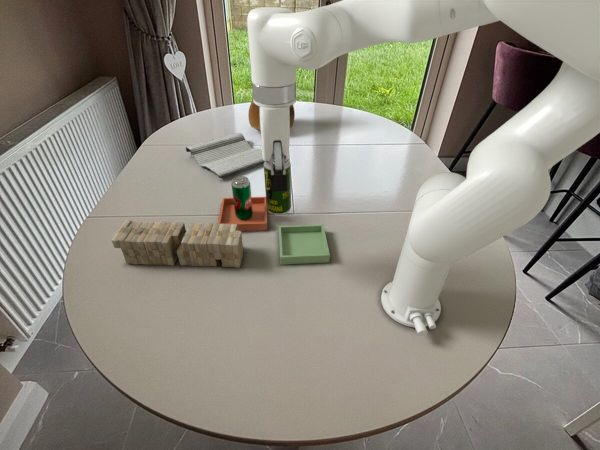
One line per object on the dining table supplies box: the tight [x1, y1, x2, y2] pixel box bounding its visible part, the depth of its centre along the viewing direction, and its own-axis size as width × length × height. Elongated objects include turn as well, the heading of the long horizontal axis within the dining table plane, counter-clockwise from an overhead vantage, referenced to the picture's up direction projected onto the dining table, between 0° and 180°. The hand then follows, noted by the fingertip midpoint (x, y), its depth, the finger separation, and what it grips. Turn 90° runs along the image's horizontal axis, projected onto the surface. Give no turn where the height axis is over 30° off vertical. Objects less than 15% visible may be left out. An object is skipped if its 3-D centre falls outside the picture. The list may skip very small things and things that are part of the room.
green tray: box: [278, 224, 331, 265], centre depth 87 cm, size 12×12×2 cm
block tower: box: [110, 219, 244, 269], centre depth 82 cm, size 8×8×29 cm
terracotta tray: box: [217, 196, 268, 232], centre depth 96 cm, size 13×13×2 cm
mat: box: [185, 132, 265, 179], centre depth 123 cm, size 23×24×5 cm
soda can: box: [231, 175, 253, 220], centre depth 93 cm, size 5×5×12 cm
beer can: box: [263, 155, 292, 216], centre depth 69 cm, size 5×5×12 cm
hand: (278, 181), depth 69 cm, fingers closed on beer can, 5 cm apart
